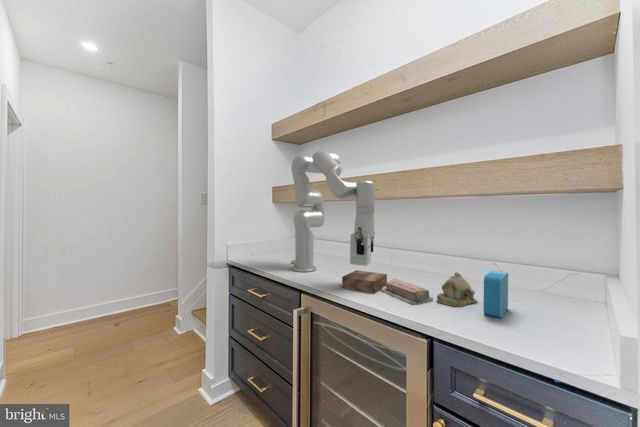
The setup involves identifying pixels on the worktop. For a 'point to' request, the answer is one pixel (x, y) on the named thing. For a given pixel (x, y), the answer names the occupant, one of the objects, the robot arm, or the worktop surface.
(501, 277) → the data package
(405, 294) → the packaged product
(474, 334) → the worktop surface
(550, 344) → the worktop surface
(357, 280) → the walnut block
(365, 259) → the supplement box
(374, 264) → the worktop surface
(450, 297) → the ceramic model
